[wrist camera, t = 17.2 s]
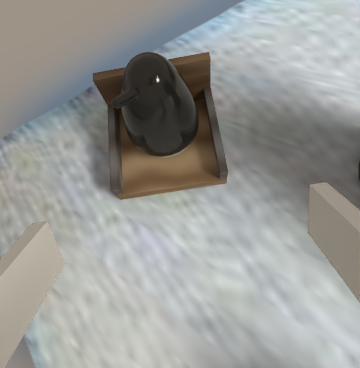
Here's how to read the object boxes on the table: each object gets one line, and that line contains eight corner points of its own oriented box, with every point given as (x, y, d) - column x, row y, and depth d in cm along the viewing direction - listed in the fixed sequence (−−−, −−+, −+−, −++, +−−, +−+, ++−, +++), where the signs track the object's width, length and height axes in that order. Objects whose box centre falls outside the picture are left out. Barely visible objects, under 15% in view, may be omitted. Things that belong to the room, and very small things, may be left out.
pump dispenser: (120, 146, 42) (73, 75, 27) (161, 99, 44) (138, 11, 30) (171, 181, 39) (149, 122, 24) (213, 129, 41) (214, 47, 27)
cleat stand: (226, 183, 40) (230, 152, 30) (121, 199, 41) (94, 174, 31) (209, 99, 45) (208, 52, 36) (116, 115, 46) (92, 73, 37)
